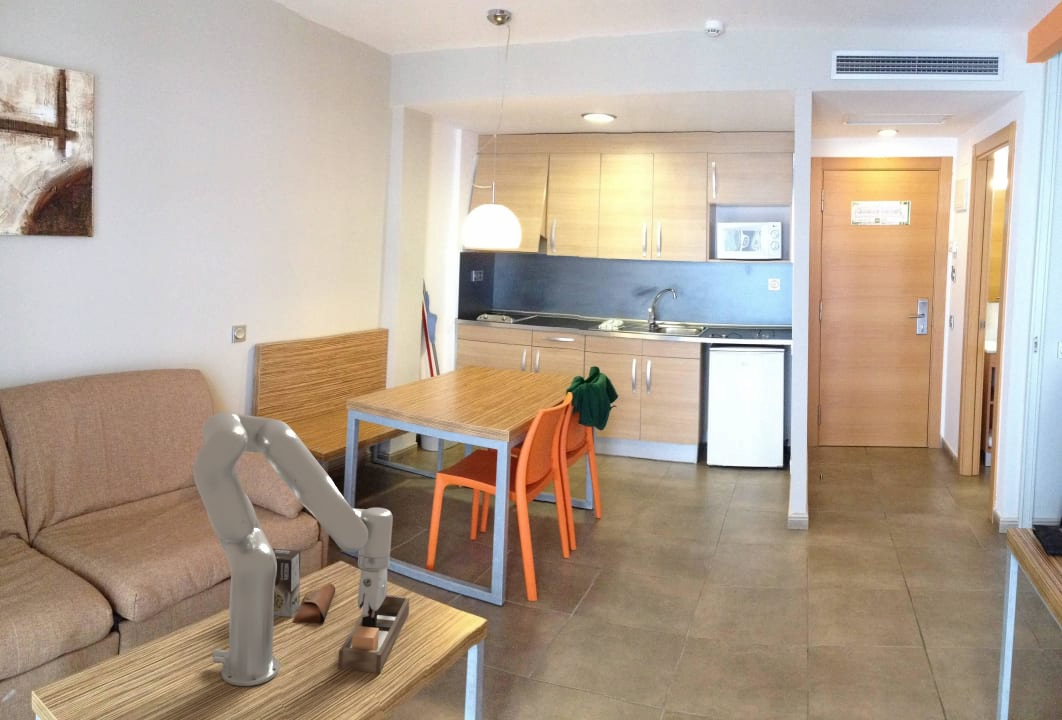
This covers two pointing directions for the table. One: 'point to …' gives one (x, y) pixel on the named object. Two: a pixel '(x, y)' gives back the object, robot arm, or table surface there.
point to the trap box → (389, 626)
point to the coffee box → (287, 582)
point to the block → (365, 638)
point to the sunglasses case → (315, 605)
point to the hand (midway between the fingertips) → (368, 630)
